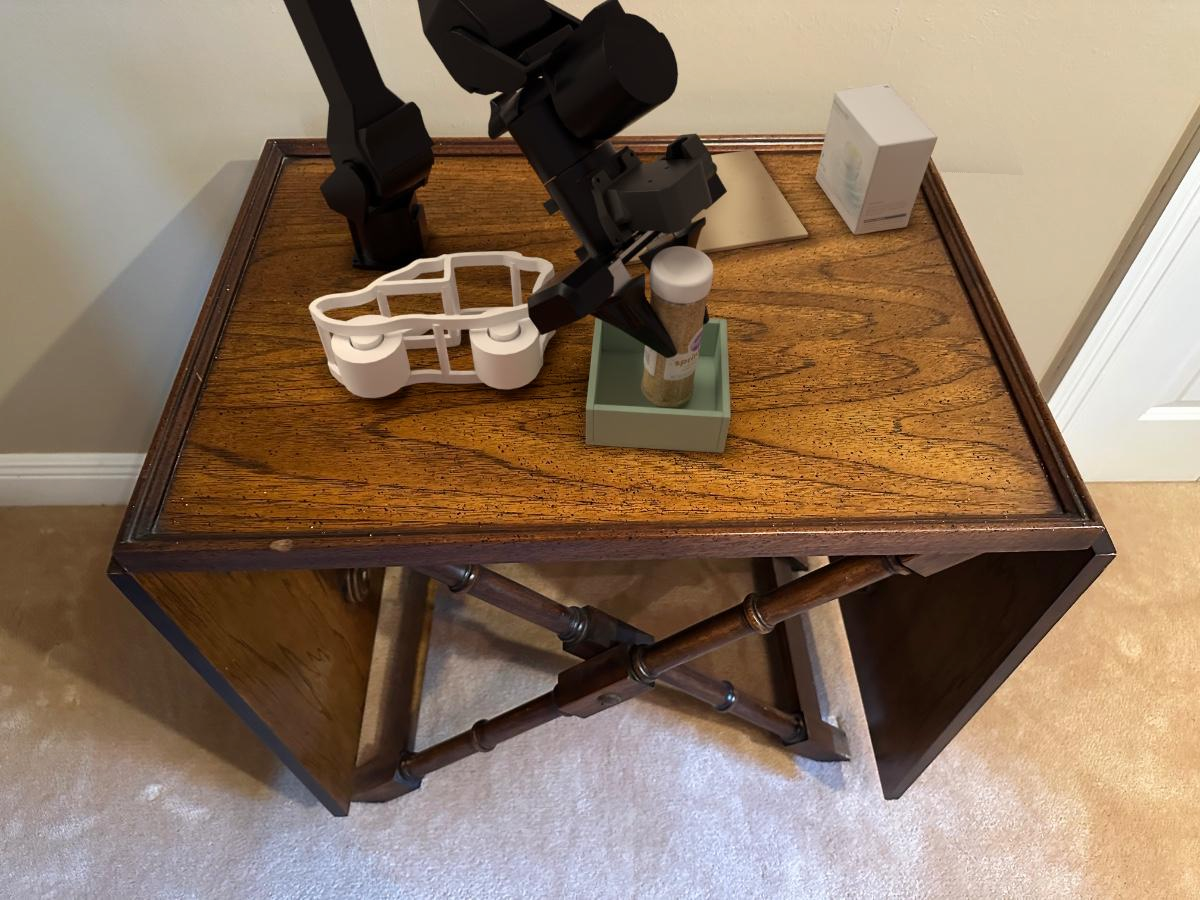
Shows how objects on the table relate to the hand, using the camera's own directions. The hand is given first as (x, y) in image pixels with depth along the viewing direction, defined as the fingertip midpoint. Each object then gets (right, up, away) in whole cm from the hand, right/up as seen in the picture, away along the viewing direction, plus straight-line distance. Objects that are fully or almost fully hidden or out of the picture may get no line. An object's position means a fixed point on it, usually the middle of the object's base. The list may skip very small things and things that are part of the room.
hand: (688, 339), depth 64 cm
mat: (+3, +17, +24) cm, 30 cm away
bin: (-2, -4, +6) cm, 8 cm away
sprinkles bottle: (-1, -4, +6) cm, 7 cm away
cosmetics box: (+21, +18, +25) cm, 37 cm away
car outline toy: (-21, -1, +9) cm, 22 cm away
